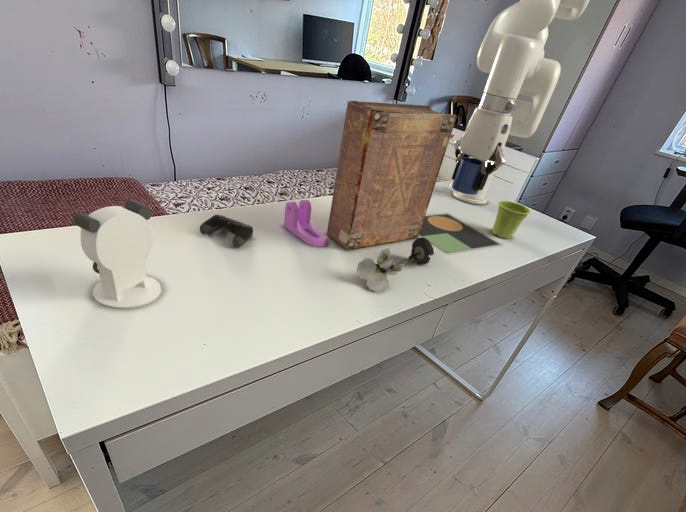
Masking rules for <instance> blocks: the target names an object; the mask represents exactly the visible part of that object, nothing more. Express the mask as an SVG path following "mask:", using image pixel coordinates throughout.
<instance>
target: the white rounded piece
mask: <svg viewBox="0 0 686 512" xmlns="http://www.w3.org/2000/svg"><path fill="white" fill-rule="evenodd" d="M151 217H152V210H151V208H150V207H149V206H148V205H147V204H143V203H142V202H138V201H136V200H134V199H131V198H128V199H127V200H126V201H125V204H124V207H123V206H119V205H110V206H105V207H102V208H98V209H96V210H94V211H92V212H91V213H89V214H88V215H87V214H85V213H83V212H77V213H75V214H74V216H73V224H74V225H75V226H77V227H79V228H80V246H81V249H82V251H83V253H84V254H85V256H86V258H88V259H89V260H90V261H92V262H93V263H92V270H93V271H94V272H95V273H97V274H98V275H99V277H100V281H99V282H97V283H96V284H95V285H94V287H93V289H92V296H93V299H94V300H95V301H96V302H97V303H98V304H99V305H102V306H104V307H107V308H112V309H118V310H119V309H120V310H127V309H135V308H136V309H137V308H140V307H144V306H147V305H149V304H151V303H153V302H154V301H155V300H157V299H158V298H159V296H160V295H161V293H162V287H161V286H162V285H161V284H160V282H159V281H158V280H156V279H155V278H154V277H151V276H148V275H147V262H146V260H147V258H148V257H149V256H150V253H151V251H152V248H153V246H154V240H155V239H154V232H153V229H152V227H151V225H150V223H149V222H148V221H149V220H150V219H151Z"/></svg>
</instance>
